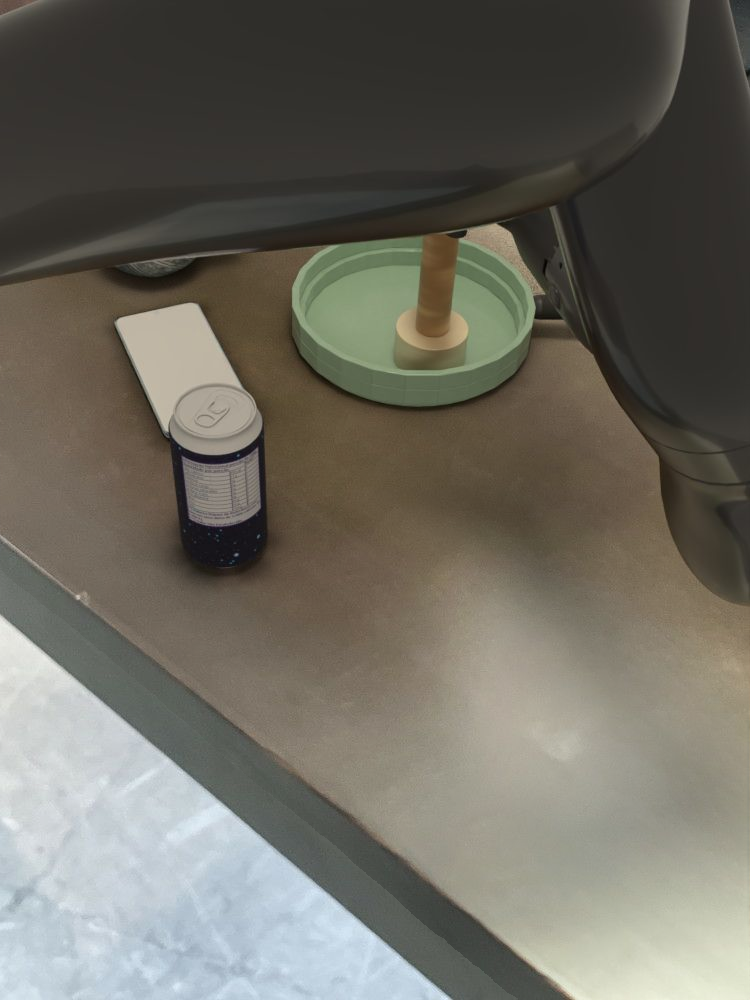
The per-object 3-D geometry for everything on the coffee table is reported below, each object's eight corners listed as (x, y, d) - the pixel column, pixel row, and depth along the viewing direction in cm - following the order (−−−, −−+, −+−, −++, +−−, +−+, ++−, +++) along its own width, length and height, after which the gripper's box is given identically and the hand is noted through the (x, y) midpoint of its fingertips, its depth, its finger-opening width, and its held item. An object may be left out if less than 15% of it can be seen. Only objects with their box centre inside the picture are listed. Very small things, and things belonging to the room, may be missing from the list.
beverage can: (284, 535, 77) (281, 399, 69) (235, 590, 74) (226, 455, 65) (215, 502, 79) (204, 366, 70) (164, 554, 76) (146, 418, 67)
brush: (394, 379, 88) (406, 208, 77) (392, 334, 92) (404, 165, 81) (467, 381, 88) (489, 210, 77) (462, 336, 92) (483, 167, 81)
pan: (291, 410, 86) (291, 374, 83) (292, 263, 99) (292, 228, 97) (545, 411, 87) (552, 375, 85) (512, 265, 100) (517, 230, 98)
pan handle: (527, 324, 92) (530, 304, 91) (523, 309, 93) (527, 289, 92) (669, 325, 93) (674, 305, 91) (663, 310, 94) (669, 290, 93)
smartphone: (166, 437, 82) (112, 318, 92) (166, 442, 83) (113, 323, 92) (258, 414, 84) (196, 299, 94) (258, 419, 85) (196, 305, 94)
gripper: (763, 182, 57) (618, 39, 67) (497, 218, 53) (388, 61, 64) (722, 305, 62) (593, 155, 73) (478, 345, 59) (380, 181, 69)
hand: (497, 111), depth 68 cm, fingers open, 8 cm apart
